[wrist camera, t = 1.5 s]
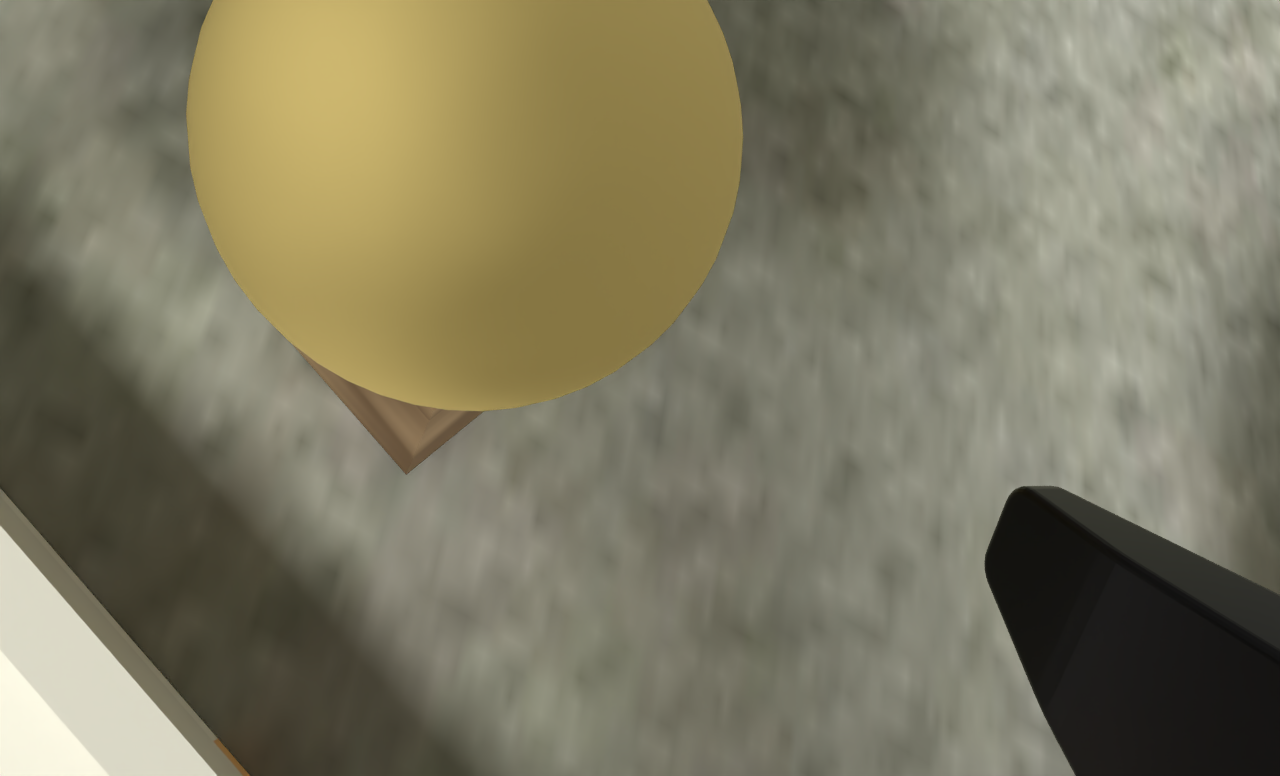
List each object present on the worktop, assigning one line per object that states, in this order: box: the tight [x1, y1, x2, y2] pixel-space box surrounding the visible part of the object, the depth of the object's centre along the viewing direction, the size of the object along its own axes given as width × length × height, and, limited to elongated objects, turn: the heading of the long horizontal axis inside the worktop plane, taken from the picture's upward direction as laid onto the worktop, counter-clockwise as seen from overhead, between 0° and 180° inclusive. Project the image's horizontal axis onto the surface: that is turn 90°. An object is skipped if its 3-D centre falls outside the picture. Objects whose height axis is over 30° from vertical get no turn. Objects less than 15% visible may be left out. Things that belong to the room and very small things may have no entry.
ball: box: [186, 0, 743, 411], centre depth 14 cm, size 7×7×7 cm
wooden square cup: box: [293, 345, 483, 474], centre depth 20 cm, size 4×4×5 cm
